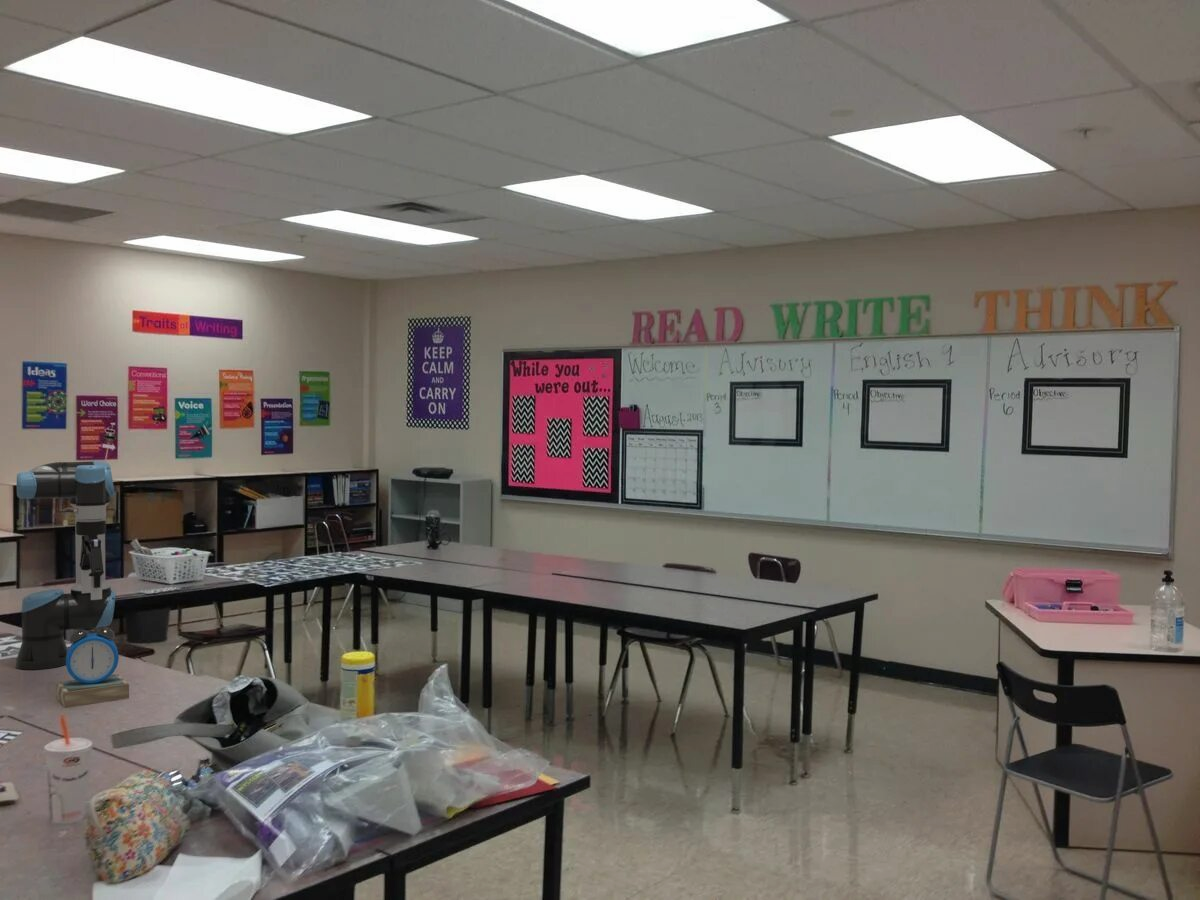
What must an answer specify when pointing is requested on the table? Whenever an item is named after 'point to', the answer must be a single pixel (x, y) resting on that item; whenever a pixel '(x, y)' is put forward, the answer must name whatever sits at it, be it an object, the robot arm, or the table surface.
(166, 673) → the table surface
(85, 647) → the alarm clock
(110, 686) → the base
